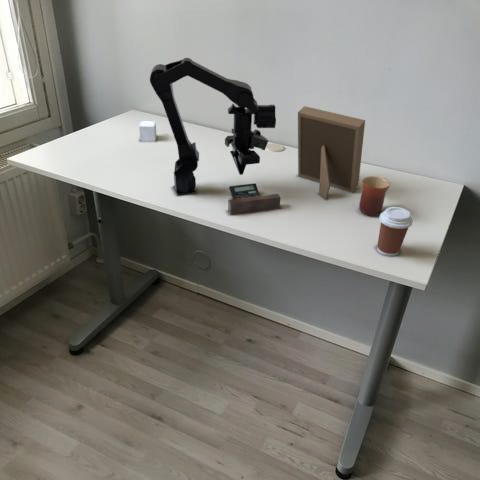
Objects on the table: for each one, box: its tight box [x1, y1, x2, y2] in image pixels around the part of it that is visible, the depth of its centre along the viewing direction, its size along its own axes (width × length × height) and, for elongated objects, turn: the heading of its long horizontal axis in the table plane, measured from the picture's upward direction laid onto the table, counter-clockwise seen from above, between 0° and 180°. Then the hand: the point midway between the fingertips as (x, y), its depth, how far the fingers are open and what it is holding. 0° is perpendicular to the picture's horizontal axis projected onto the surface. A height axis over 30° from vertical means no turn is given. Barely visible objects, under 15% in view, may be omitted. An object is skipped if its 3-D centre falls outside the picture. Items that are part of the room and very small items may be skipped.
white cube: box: [138, 120, 158, 142], centre depth 202 cm, size 6×6×6 cm
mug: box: [358, 175, 391, 217], centre depth 158 cm, size 12×9×10 cm
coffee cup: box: [376, 206, 414, 257], centre depth 139 cm, size 9×9×12 cm
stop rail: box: [227, 193, 282, 216], centre depth 157 cm, size 17×2×4 cm, turn 109°
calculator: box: [229, 182, 262, 199], centre depth 163 cm, size 9×12×3 cm
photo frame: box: [297, 105, 366, 199], centre depth 165 cm, size 15×22×25 cm
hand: (241, 174), depth 165 cm, fingers closed
